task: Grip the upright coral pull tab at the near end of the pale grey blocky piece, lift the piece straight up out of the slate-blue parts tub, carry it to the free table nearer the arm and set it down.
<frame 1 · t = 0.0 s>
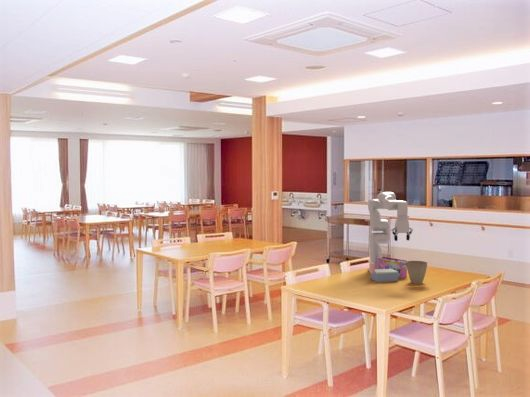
hand: (401, 240, 377), 31 cm above the table, tool pointing down, fingers open, 9 cm apart
plant pot: (416, 283, 372), on the table
gum box: (392, 276, 399), on the table
tub: (384, 281, 381), on the table
grey metal part: (390, 280, 380), point 1 cm above the table, touching tub
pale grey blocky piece: (384, 271, 380), point 7 cm above the table, touching tub
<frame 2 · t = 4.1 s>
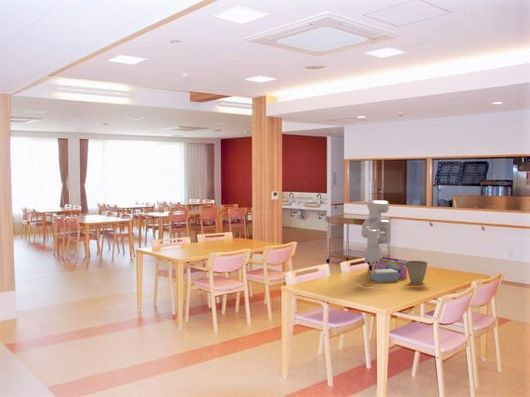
hand: (372, 270, 378), 9 cm above the table, tool pointing down, fingers closed on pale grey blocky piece
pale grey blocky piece: (384, 271, 380), point 7 cm above the table, touching gripper
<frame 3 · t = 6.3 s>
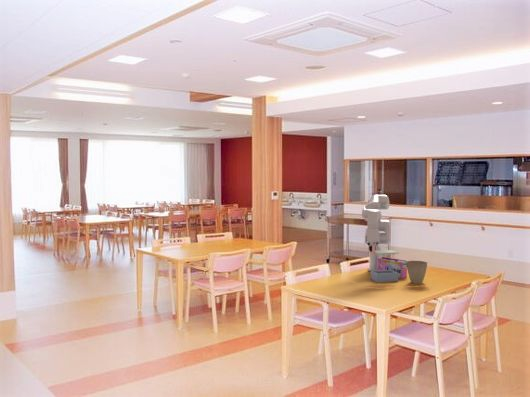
hand: (372, 251, 378), 23 cm above the table, tool pointing down, fingers closed on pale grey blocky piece
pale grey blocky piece: (384, 252, 380), point 22 cm above the table, touching gripper
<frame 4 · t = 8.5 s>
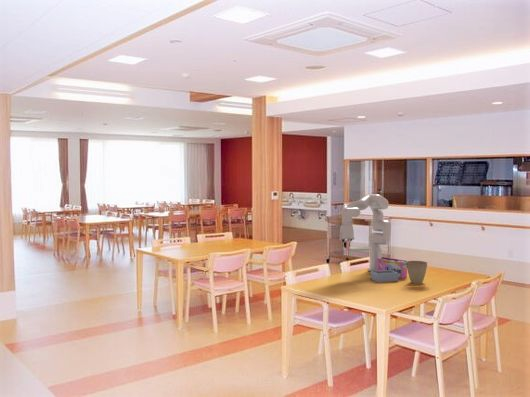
hand: (346, 247, 390), 24 cm above the table, tool pointing down, fingers closed on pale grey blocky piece
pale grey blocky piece: (358, 249, 392), point 22 cm above the table, touching gripper
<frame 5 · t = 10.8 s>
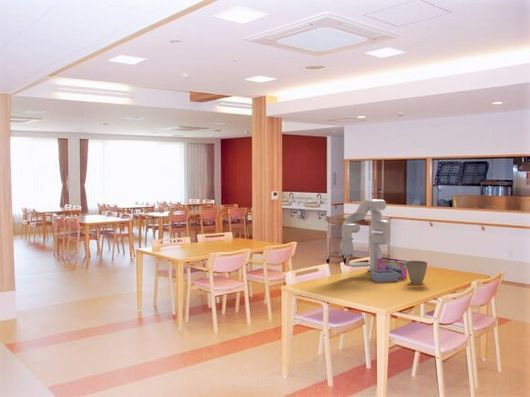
hand: (346, 263, 390), 12 cm above the table, tool pointing down, fingers closed on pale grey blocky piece
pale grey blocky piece: (358, 264, 393), point 10 cm above the table, touching gripper
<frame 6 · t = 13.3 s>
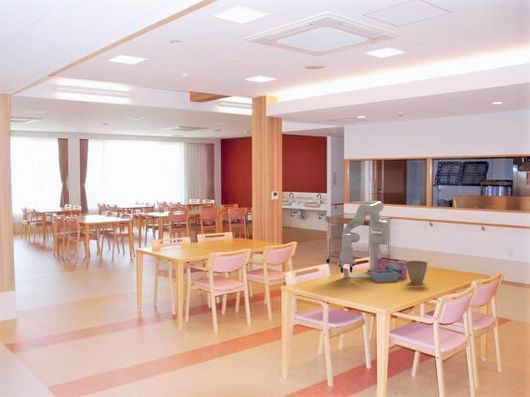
hand: (346, 272, 391), 5 cm above the table, tool pointing down, fingers open, 6 cm apart
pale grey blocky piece: (357, 276, 393), point 1 cm above the table
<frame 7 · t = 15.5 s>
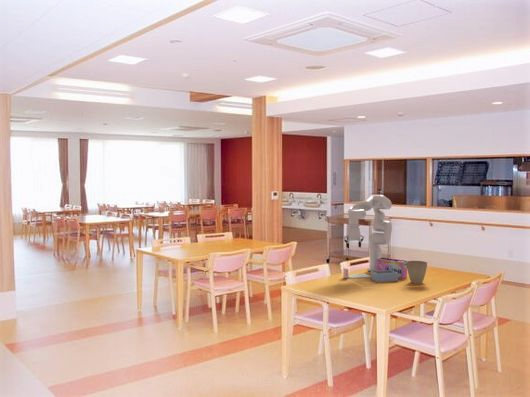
hand: (353, 247, 393), 23 cm above the table, tool pointing down, fingers open, 9 cm apart
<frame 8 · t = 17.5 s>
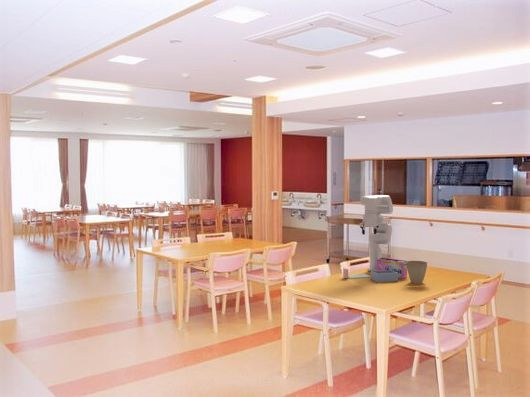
hand: (369, 234, 398), 33 cm above the table, tool pointing down, fingers open, 9 cm apart
at the end: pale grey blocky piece inside the target area (1.0 cm from its centre), point 0.6 cm above the table; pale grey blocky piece touching table; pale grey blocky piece tilted 0° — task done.
